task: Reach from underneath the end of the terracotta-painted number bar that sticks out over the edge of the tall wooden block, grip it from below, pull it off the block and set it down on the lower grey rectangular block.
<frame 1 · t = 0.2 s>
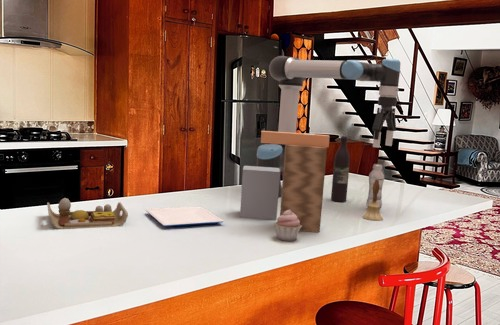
hand: (382, 146, 217), 28 cm above the kitchen island counter, tool pointing down, fingers open, 13 cm apart
bar: (294, 144, 181), point 30 cm above the kitchen island counter, touching tall wooden block
toy food set: (86, 222, 175), on the kitchen island counter
cupcake: (286, 239, 170), on the kitchen island counter
tall wooden block: (299, 226, 185), on the kitchen island counter
hand bell: (372, 218, 206), on the kitchen island counter
plate: (183, 220, 185), on the kitchen island counter
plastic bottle: (373, 210, 222), on the kitchen island counter
wine bottle: (338, 201, 236), on the kitchen island counter
grey rectangular block: (258, 215, 198), on the kitchen island counter
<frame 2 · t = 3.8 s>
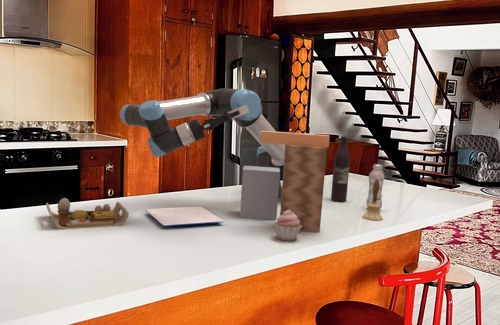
hand: (246, 108, 182), 41 cm above the kitchen island counter, tool pointing upward, fingers open, 13 cm apart
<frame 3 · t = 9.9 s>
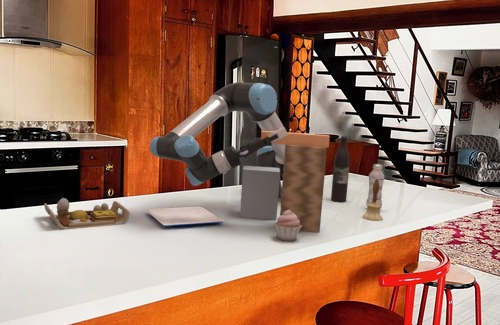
hand: (286, 130, 181), 35 cm above the kitchen island counter, tool pointing upward, fingers closed on bar, 4 cm apart
bar: (294, 144, 181), point 30 cm above the kitchen island counter, touching gripper, tall wooden block
when the fingers open (25 cm above the kitchen island counter, at t = 16.5 s): bar drops 1 cm, resting on grey rectangular block.
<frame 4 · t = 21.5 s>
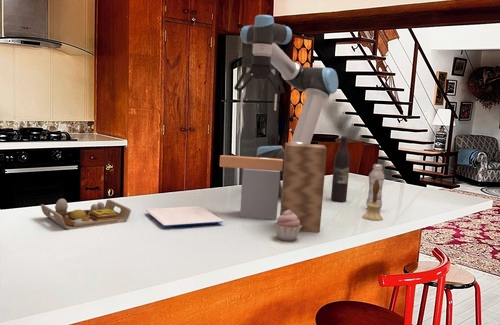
hand: (258, 109, 205), 41 cm above the kitchen island counter, tool pointing down, fingers open, 13 cm apart
bar: (250, 168, 196), point 18 cm above the kitchen island counter, touching grey rectangular block
at the end: bar inside the target area on the grey rectangular block (0.9 cm from its centre), point 18.5 cm above the grey rectangular block's base; bar touching grey rectangular block; the gripper is holding nothing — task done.
